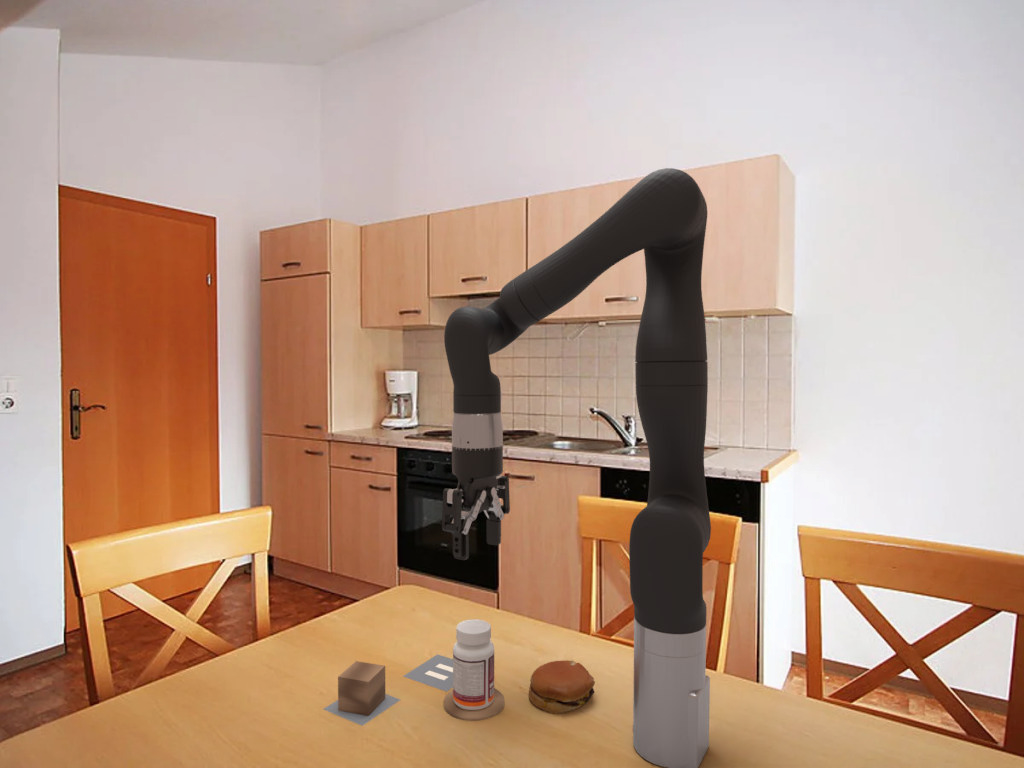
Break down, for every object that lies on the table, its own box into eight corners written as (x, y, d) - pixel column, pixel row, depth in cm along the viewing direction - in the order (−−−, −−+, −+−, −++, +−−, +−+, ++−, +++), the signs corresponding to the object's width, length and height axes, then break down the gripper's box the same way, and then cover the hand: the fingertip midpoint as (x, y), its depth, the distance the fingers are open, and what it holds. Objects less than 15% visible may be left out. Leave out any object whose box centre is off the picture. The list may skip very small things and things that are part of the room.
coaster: (515, 698, 96) (515, 694, 96) (481, 728, 88) (481, 723, 88) (467, 682, 100) (467, 678, 100) (431, 709, 93) (431, 705, 93)
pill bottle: (478, 685, 98) (478, 614, 98) (502, 702, 94) (502, 627, 93) (444, 698, 94) (444, 624, 94) (468, 717, 90) (468, 638, 89)
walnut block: (385, 698, 96) (385, 665, 95) (368, 715, 91) (368, 681, 91) (356, 693, 97) (355, 661, 97) (338, 710, 92) (338, 676, 92)
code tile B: (400, 700, 95) (400, 699, 95) (362, 726, 88) (362, 725, 88) (362, 685, 99) (362, 685, 99) (322, 709, 93) (322, 708, 93)
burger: (523, 710, 93) (523, 679, 93) (537, 679, 102) (537, 651, 102) (590, 721, 90) (590, 689, 90) (598, 688, 99) (598, 659, 99)
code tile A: (479, 668, 105) (479, 667, 105) (446, 692, 98) (446, 691, 98) (437, 654, 110) (437, 654, 110) (402, 676, 102) (402, 676, 102)
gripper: (470, 450, 85) (471, 569, 86) (523, 439, 97) (524, 543, 98) (426, 447, 89) (428, 560, 90) (483, 436, 101) (483, 536, 102)
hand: (478, 551), depth 94 cm, fingers open, 8 cm apart
